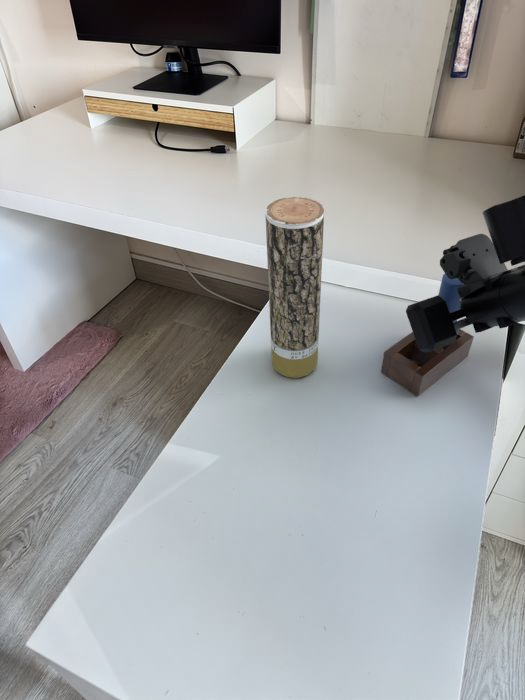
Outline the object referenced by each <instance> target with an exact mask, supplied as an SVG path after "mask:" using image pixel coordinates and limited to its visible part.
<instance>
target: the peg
mask: <svg viewBox="0 0 525 700" xmlns="http://www.w3.org/2000/svg"><path fill="white" fill-rule="evenodd" d="M461 286H464V284H463V283H461V282H460V281H459V279H458V278H454V279H449V278H448V277H447V275H446V274H445V273H444V274H443V275H442V278H441V281H440V286H439V290H438V294H437V295H439V296H440V297H441V298H443V299H444V300H445V301H446V304H447V307H448V310H449V311H450V313H451V312H454V311H457V310H459V309H460V308H461V303H460V299H461V298H460V296H459V293H458V290H457V288H459V287H461ZM462 298H463V297H462ZM456 321H458V319H457V320H455V321H453V322H456ZM448 346H449V345H448ZM448 346H445V347H443V349H445V348H447V347H448Z"/></svg>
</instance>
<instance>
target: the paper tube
mask: <svg viewBox="0 0 525 700" xmlns="http://www.w3.org/2000/svg"><path fill="white" fill-rule="evenodd" d="M324 220H325V209H324V206H323V205H322V204H321V203H320V202H319V201H317V200H315V199H312V198H310V197H309V198H308V197H305V196H304V197H303V196H287V197H283V198H282V197H281V198H279V199H277V200H274V201H272V202H270V203H269V204H268V205H267V206H266V208H265V237H266V257H267V281H268V283H267V285H268V300H269V301H268V303H269V325H270V328H269V329H270V344H271V345H270V346H271V347H270V349H271V363H272V366H273V368H274V370H275V371H276V372H277V373H279V374H280V375H281V376H283V377H287V378H294V379H297V378H303V377H305V376H308V375H310V374H311V373H312V372H314V370H315V369H316V368H317V365H318V361H319V360H318V359H319V357H318V356H319V341H320V340H319V338H320V337H319V336H320V313H321V291H322V269H323V249H324V248H323V246H324V244H323V243H324V225H325V223H324V222H325V221H324Z"/></svg>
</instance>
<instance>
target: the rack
mask: <svg viewBox="0 0 525 700" xmlns="http://www.w3.org/2000/svg"><path fill="white" fill-rule="evenodd" d="M474 337H475V336H474V335H472V334H470V333H469V332H466V331H465V330H463V329H462V328H461V329H459V330H458V334H457V337H456V341H455V343H453V344H450V345H449V346H448V347H447V348H445V349H443V348H440V349H438V350H435V351H432V352H425V353H424V352H422V351H420V350H419V348H418V345H417V342H416V339H415V337H414V334H413V331H412V332H410V333H408V334H407V335H406V336H404V337H403V338H402V339H400V340H399V341H397V342H396V343H395V344H393V345H392V346H390V347H389V348H387V349H386V350H385V351H383V356H382V362H381V368H380V372H381V374H383V375H384V376H387V377H388V378H389V379H390V380H392V381H394V382H395V383H396V384H397V385H400V386H401V387H403V388H404V389H406V390H407V391H409V392H410V393H411V394H413V395H414V396H416V397H419V396H421V395H422V394H423V393H424V392H426V391H427V390H428V389H429V388H431V387H432V386H433V385H434V384H436V383H437V382H438V381H439V380H441V379H442V378H444V376H446V375H447V374H448V373H449V372H451V371H452V370H453V369H455V367H456V366H458V365H459V364H460V363H461V362H463V361H464V360H465V359H467V358H468V356H469V353H470V350H471V348H472V345H473V341H474Z"/></svg>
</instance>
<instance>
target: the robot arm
mask: <svg viewBox="0 0 525 700" xmlns="http://www.w3.org/2000/svg"><path fill="white" fill-rule="evenodd" d="M481 212H482V216H483V218H484V219H483V220H484V222H485V224H486V227H487V230H488V233H489V236H490V237H489V236H488V235H486V234H484V233H478V234H475V235H471V236H468V237H465V238H462V239H459V240H457V242H456V243H455V244H452V245H451V246H450V247H449V248H446V249H443V251H442V257H441V258H440V259H439V267H440V268H441V269H442V271H443V273H444V274H446V275H447V277H448V278H449V279H454V278H458V279H459V281H460V282H461V283H463V284H464V286H461V287H459V288H457V290H458V293H459V296H460V298H461V299H460V303H461V308H460V309H459V310H457V311H454V312H451V313H450V311H449V310H448V307H447V304H446V301H445V300H444V299H443V298H441V297H440V296H439V295H438V294H437V295H435V296H432V297H429V298H426V299H423V300H420V301H417V302H415V303H412V304H408V305H407V307H406V309H405V313H406V316H407V319H408V322H409V325H410V328H411V330H412V332H413V334H414V337H415V339H416V342H417V345H418V348H419V350H420V351H422V352H424V353H425V352H432V351H435V350H438V349H440V348H443V347H445V346H448V345H450V344H453V343H455V341H456V337H457V334H458V330H459V329H461V330H462V329H463V328H466V327H469V326H471V325H472V327H473V330H474V332H475V334H478V333H482V332H485V331H487V330H490V329H493V328H494V327H498V328H499V329H504V328H508V327H510V326H513V325H515V324H518V323H520V322H525V264H522V263H525V194H524V195H521V196H519V197H516V198H512V199H511V200H508V201H504V202H501V203H498V204H494V205H492V206H490V207H488V208H487V209H485V210H483V211H481ZM508 262H510V265H511V267H512V266H516V267H514V268H510V269H508V267H507V265H506V263H508ZM519 264H522V265H520V266H517V265H519ZM462 297H463V298H462ZM455 320H457V321H456V322H453V321H455Z"/></svg>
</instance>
